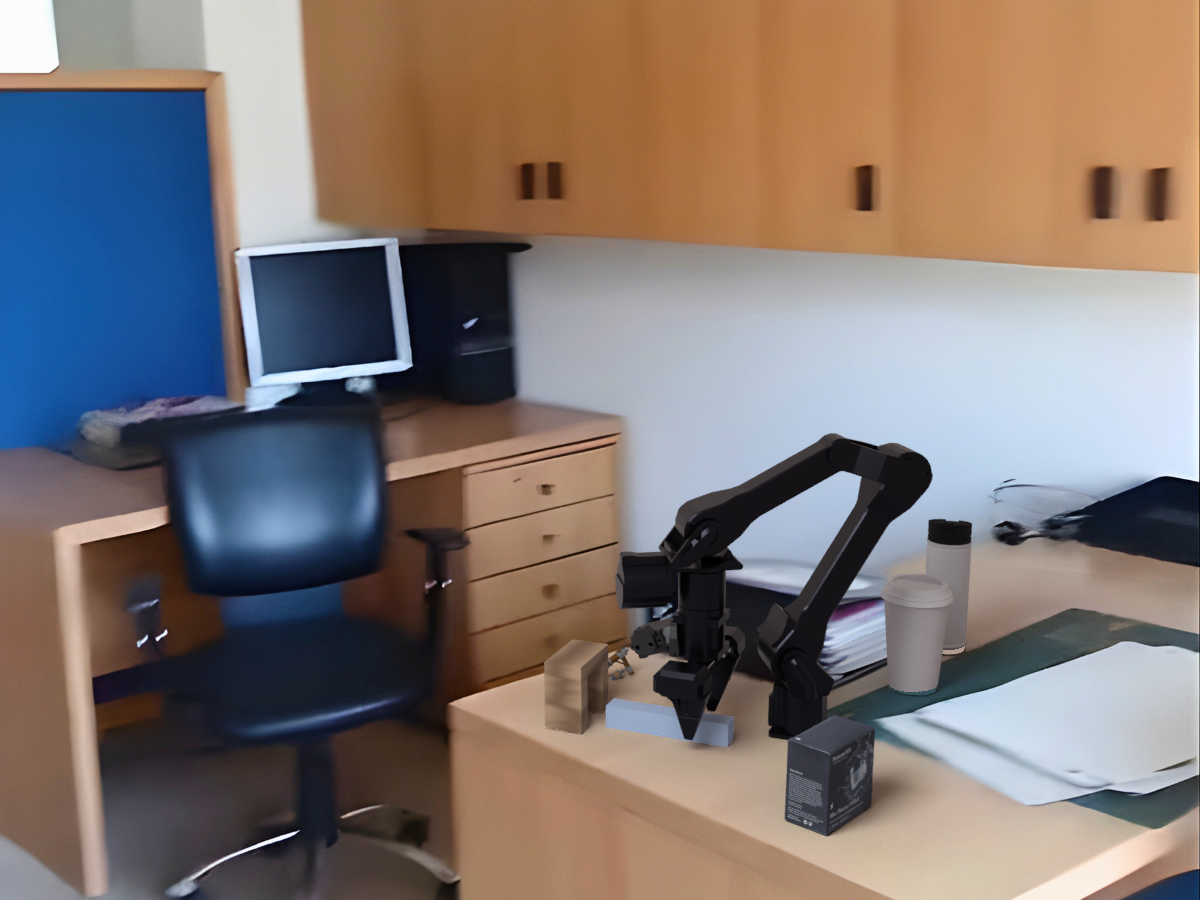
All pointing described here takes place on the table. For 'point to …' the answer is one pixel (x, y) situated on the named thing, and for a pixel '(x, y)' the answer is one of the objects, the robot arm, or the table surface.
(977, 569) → the table surface
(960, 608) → the travel mug
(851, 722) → the box
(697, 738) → the light blue rectangular bar
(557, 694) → the wooden block
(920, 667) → the coffee cup
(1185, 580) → the table surface
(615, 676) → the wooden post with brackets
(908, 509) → the robot arm
